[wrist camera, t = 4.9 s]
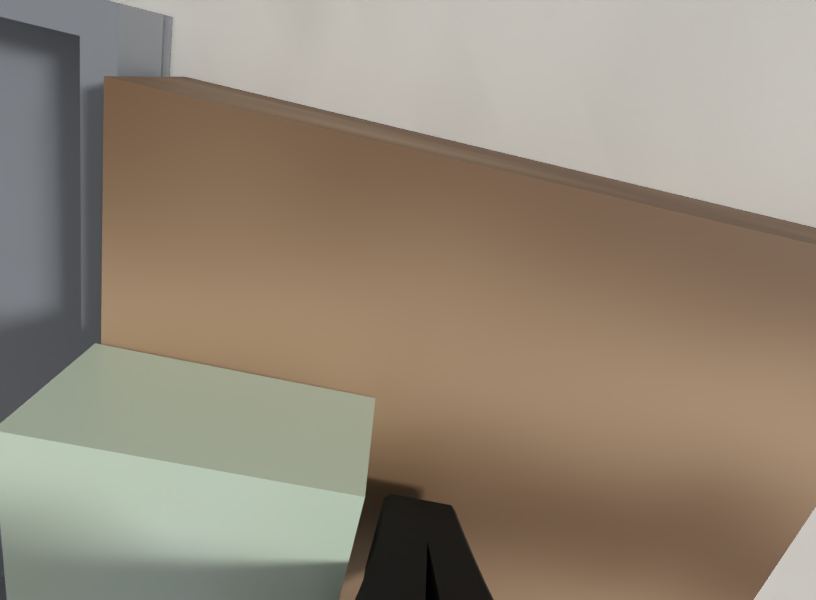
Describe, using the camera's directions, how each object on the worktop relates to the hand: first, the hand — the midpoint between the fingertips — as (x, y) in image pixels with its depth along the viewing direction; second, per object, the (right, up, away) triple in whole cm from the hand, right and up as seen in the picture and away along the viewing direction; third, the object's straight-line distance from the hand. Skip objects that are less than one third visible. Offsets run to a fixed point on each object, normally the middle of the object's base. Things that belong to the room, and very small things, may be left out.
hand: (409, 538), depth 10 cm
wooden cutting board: (+1, +1, +3) cm, 4 cm away
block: (-4, +1, 0) cm, 4 cm away
